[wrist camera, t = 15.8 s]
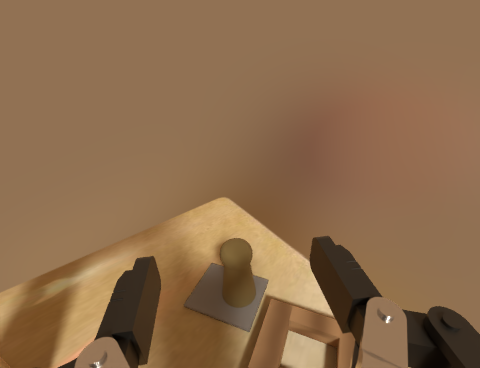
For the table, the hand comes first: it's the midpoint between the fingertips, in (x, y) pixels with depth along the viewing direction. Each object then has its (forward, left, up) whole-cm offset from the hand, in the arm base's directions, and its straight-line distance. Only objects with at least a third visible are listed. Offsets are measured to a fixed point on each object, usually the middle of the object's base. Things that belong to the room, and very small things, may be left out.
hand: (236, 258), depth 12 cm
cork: (-9, +17, -28) cm, 34 cm away
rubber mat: (-11, +17, -29) cm, 35 cm away
